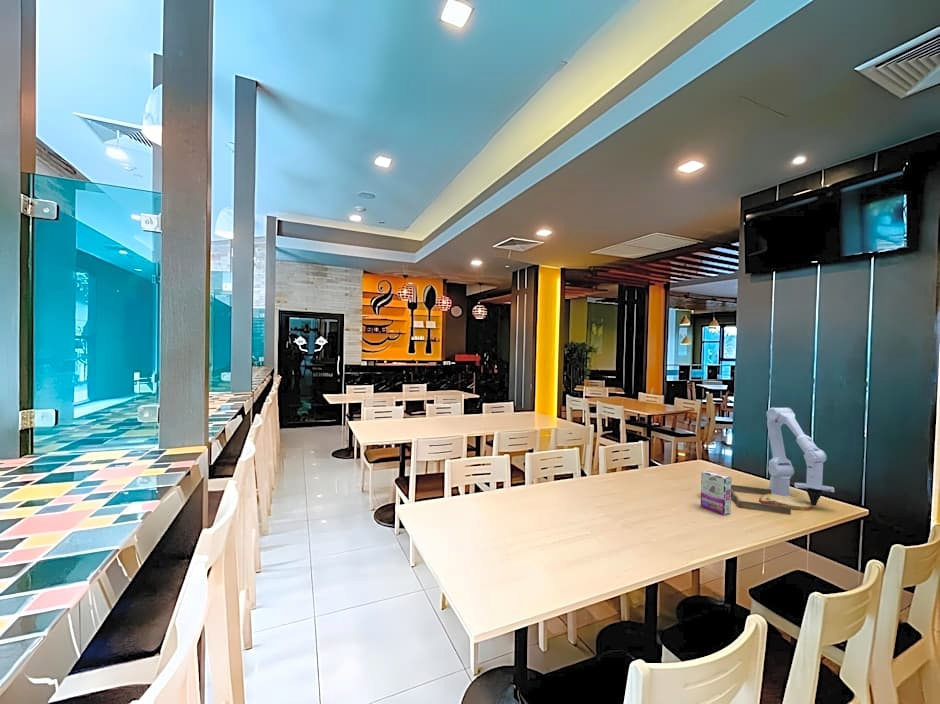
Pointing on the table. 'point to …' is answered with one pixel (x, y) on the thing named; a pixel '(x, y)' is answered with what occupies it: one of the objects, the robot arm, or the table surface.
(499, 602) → the table surface
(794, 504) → the bread slice
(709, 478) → the candy bar box
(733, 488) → the frame
